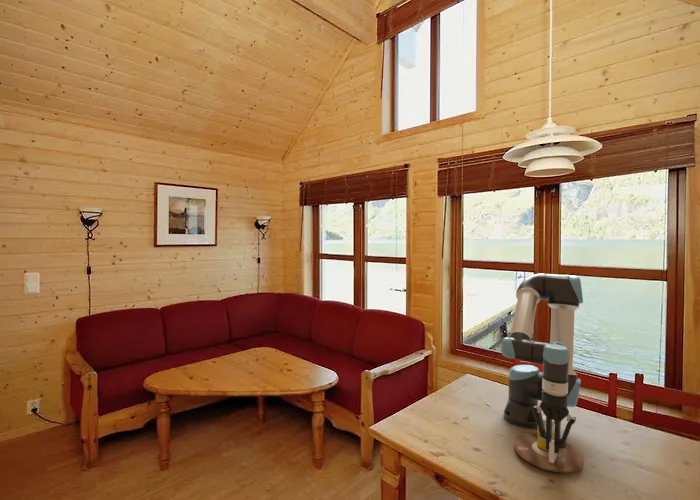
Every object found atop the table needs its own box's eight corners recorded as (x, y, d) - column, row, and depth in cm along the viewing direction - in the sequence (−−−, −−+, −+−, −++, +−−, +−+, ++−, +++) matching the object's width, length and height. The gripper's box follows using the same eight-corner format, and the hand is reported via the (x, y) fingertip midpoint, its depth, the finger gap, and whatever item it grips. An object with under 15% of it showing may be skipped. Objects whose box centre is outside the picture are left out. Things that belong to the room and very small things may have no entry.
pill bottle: (546, 443, 136) (547, 412, 135) (561, 452, 130) (562, 421, 129) (532, 446, 133) (533, 415, 133) (547, 456, 127) (548, 424, 127)
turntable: (528, 470, 121) (529, 444, 121) (505, 434, 143) (505, 412, 143) (597, 474, 120) (598, 447, 119) (562, 437, 142) (563, 414, 141)
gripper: (530, 389, 122) (528, 457, 123) (574, 401, 114) (571, 474, 115) (536, 383, 128) (534, 448, 129) (579, 394, 119) (576, 463, 120)
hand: (552, 460), depth 122 cm, fingers closed
